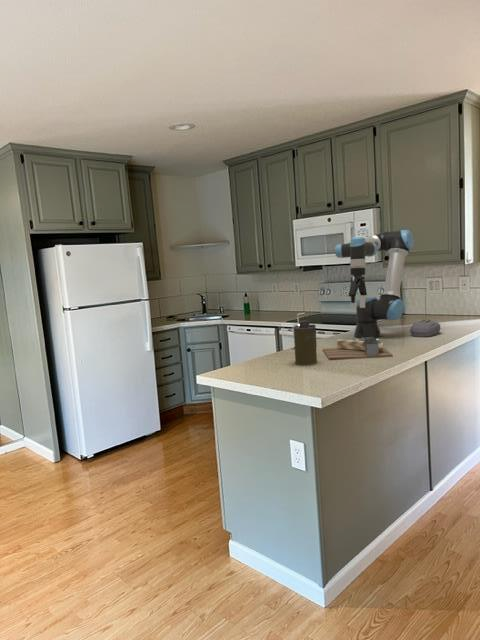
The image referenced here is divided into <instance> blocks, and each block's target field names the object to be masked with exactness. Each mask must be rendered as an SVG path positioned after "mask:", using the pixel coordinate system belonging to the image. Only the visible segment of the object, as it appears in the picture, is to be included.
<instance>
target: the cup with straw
mask: <svg viewBox="0 0 480 640" xmlns="http://www.w3.org/2000/svg"><path fill="white" fill-rule="evenodd" d="M305 314H307V313H306V312H299V313H297V314H296V315H297V322H296V323H295V324H294V325H292V328H291V330H290V331H291V332H292V335H293V336H294V328H293V327H294V326H299V325H300V324H299V323H298V322H299V321H300V319H299V315H305Z"/></svg>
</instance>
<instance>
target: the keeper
mask: <svg viewBox="0 0 480 640" xmlns="http://www.w3.org/2000/svg"><path fill="white" fill-rule="evenodd" d="M360 339H361V340H360V341H363V342H364V343H365V354H366V355H367V356H372V355H379V352H378V340H377V339H378V338H374V337H361V338H360Z"/></svg>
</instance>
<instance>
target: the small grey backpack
mask: <svg viewBox="0 0 480 640" xmlns="http://www.w3.org/2000/svg"><path fill="white" fill-rule="evenodd" d="M440 330H441V324H440V323H439V322H436V321H432V320H430V319H428V320H426V319H423V320H420V321H417V322H414V323H413V324H412V325H411V327H410V330H409V332H410V335H411V336H413V337H419V338H420V337H421V338H423V337H424V338H426V337H433V336H436V335H438V334H439V333H440Z"/></svg>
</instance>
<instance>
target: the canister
mask: <svg viewBox="0 0 480 640" xmlns="http://www.w3.org/2000/svg"><path fill="white" fill-rule="evenodd" d="M297 323H299V324H300V325H299V326H294V325H293V326H294V327H293V326H292V329H293V328H294V335H293V341H294V342H293V343H294V359H295V360H294V361H295V362H294V364H295V365H299V366H314V365H317V363H318V359H317V329H316V327H317V325H316V324H312V323H311V324H310V321H309V320H299V322H298V321H297Z"/></svg>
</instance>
